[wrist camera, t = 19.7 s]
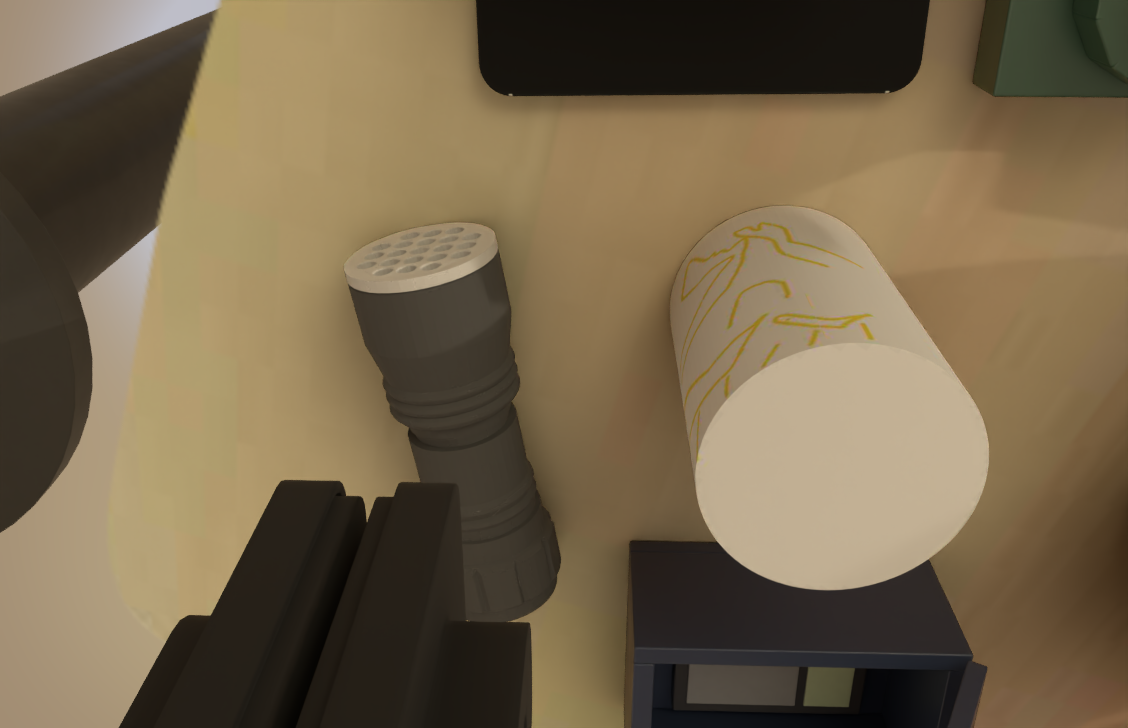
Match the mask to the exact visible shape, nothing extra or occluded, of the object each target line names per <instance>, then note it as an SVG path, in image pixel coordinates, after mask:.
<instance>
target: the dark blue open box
mask: <svg viewBox="0 0 1128 728" xmlns="http://www.w3.org/2000/svg"><path fill="white" fill-rule="evenodd" d="M972 659H973V653H972V651H971V649H970V647H969V645H968V643H967V640H966V638H965V636H964V634H963V632H962V630H961V628H960V625H959V623H958V621H957V619H956V617H955V615H954V613H953V610H952V608H951V606H950V604H949V602H948V600H947V597H946V595H945V593H944V591H943V589H942V587H941V585H940V582H939V580H938V578H937V576H936V574H935V572H934V570H933V567H932V565H931V563H930V561H929V559H928V560H926V561H925V562H923V563H922V564H920V565H918V566H917V567H915V568H913V569H911V570H909V571H907V572H905V573H903V574H901V575H899V576H896V577H894V578H891V579H888V580H886V581H883V582H879V583H876V584H872V585H868V586H864V587H858V588H852V589H843V590H814V589H805V588H798V587H793V586H789V585H785V584H782V583H778V582H775V581H773V580H770V579H767V578H765V577H763V576H761V575H759V574H757V573H755V572H753V571H751V570H750V569H748V568H746V567H745V566H743V565H742V564H740V563H739V562H738V561H737V560H735V559H734V558H733V557H732V556H731V555H730V554H728V553H727V552H726V551H725V550H724V548H723V547H722V546H721V545H720V544H719V543H703V542H652V541H630V544H629V572H628V601H627V630H626V658H625V687H624V728H947V727H948V723H949V720H950V717H951V714H952V710H953V707H954V704H955V701H956V697H957V694H958V691H959V688H960V684H961V681H962V678H963V675H964V672H965V668H966V665H967V662H968V661H972ZM673 664H694V665H738V666H782V667H826V668H867V672H866V678H865V684H864V690H863V696H862V702H861V708H860V713H859V714H858V715H856V714H814V713H773V712H731V711H690V710H673V709H672V701H671V686H672V670H673Z"/></svg>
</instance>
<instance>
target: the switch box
mask: <svg viewBox="0 0 1128 728" xmlns="http://www.w3.org/2000/svg"><path fill="white" fill-rule="evenodd" d="M973 84H975V85H976V86H978V87H980V88H981V89H983V90H984V91H986V92H988V93H989V94H991V95H993V96H995V97H1114V98H1128V0H987V1H986V7H985V13H984V19H983V25H982V31H981V37H980V42H979V48H978V54H977V60H976V66H975V72H974V78H973Z"/></svg>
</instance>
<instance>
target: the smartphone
mask: <svg viewBox="0 0 1128 728" xmlns="http://www.w3.org/2000/svg"><path fill="white" fill-rule="evenodd" d="M929 2H930V0H476V8H477V29H478V50H479V67H480V71H481V74H482V77H483V79H484V80H485V82H486V83H487V84H488V85H489V87H491V88H492V89H493V90H494V91H496V92H498V93H500V94H503V95H507V96H581V95H585V96H599V95H713V94H845V93H891V92H895V91H898V90H900V89H902V88H903V87H905V86H906V85H908V84H909V83H910V82H911V81H912V80H913V78H914V77H915V76H916V74H917V73H918V70H919V68H920V65H921V61H922V54H923V46H924V39H925V31H926V24H927V17H928V9H929Z"/></svg>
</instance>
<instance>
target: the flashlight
mask: <svg viewBox="0 0 1128 728" xmlns="http://www.w3.org/2000/svg"><path fill="white" fill-rule="evenodd" d="M344 272H345V275H346V279H347V282H348V285H349V289H350V293H351V296H352V300H353V303H354V307H355V310H356V314H357V318H358V321H359V325H360V328H361V332H362V335H363V339H364V343H365V346H366V347H367V349H368V351H369V352H370V354H371V356H372V357H373V359H374V361H375V362H376V364H377V366H378V367H379V369H380V371H381V372H382V374H383V387H384V389H385V390H386V397H387V400H388V402H389V404H390V412H391V414H392V415H393V417H394V418H395V419H396V420H397V421H398V422H400V423H402V424H404V425H405V426H407V427H409V430H408V437H409V441H410V445H411V448H412V452H413V456H414V459H415V463H416V467H417V470H418V474H419V478H420V481H421V483H457V485H458V488H459V494H460V509H461V528H462V548H463V567H464V587H465V607H466V620H468V621H476V622H508V621H512V620H515V619H518V618H521V617H523V616H525V615H527V614H529V613H531V612H533V611H535V610H536V609H537V608H539V607H540V606H542V605H543V604H544V603H545V602H546V601H547V600H548V599H549V597H550V596H551V595H552V593H553V591H554V589H555V587H556V584H557V574H558V572H559V568H560V563H561V556H560V551H559V546H558V541H557V537H556V532H555V527H554V522H553V521H552V520H551V517H550V514H549V512H548V511H547V510H546V509H545V508H544V507H543V506H542V504H541V499H540V495H539V493H538V491H537V490H536V481H535V479H534V477H533V475H534V473H533V468H532V466H531V464H530V462H529V461H528V460H527V458H526V453H525V449H524V444H523V440H522V435H521V430H520V426H519V421H518V417H517V412H516V409H515V407H514V405H513V404H512V403H511V401H512V400H513V398H514V397H515V395H516V394H517V392H518V390H519V385H520V378H519V376H518V374H517V365H516V363H515V361H514V359H515V355H514V351H513V350H512V348H511V346H510V328H511V306H510V301H509V297H508V292H507V287H506V283H505V278H504V273H503V269H502V264H501V259H500V255H499V250H498V244H497V240H496V235H495V233H494V231H493V230H492V229H490V228H489V227H486V226H484V225H480V224H476V223H467V222H455V223H442V224H434V225H428V226H422V227H416V228H412V229H408V230H404V231H401V232H397V233H394V234H391V235H389V236H386V237H383V238H381V239H378V240H375V241H373V242H371V243H369V244H367V245H365V246H364V247H362V248H360V249H358V250H357V251H356V252H355V253H353V254H352V255H351V256H350V257H349V258H348V259H347V260H346V262H345V264H344Z"/></svg>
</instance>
